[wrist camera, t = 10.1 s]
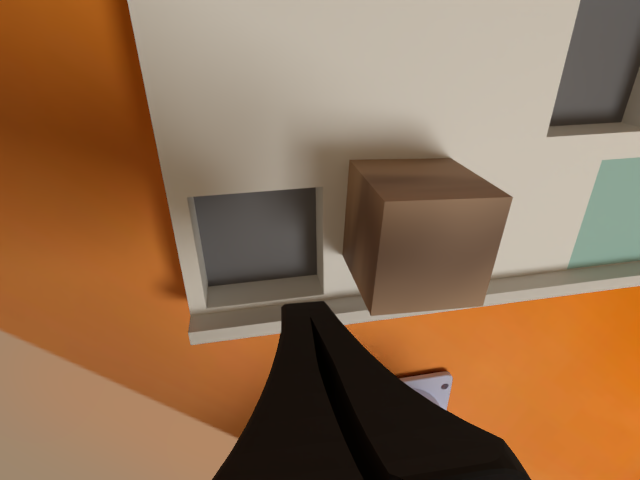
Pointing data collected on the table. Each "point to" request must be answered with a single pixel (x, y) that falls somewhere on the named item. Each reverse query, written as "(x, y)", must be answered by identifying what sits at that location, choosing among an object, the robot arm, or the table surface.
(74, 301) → the table surface
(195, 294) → the tray
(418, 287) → the walnut block
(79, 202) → the table surface
